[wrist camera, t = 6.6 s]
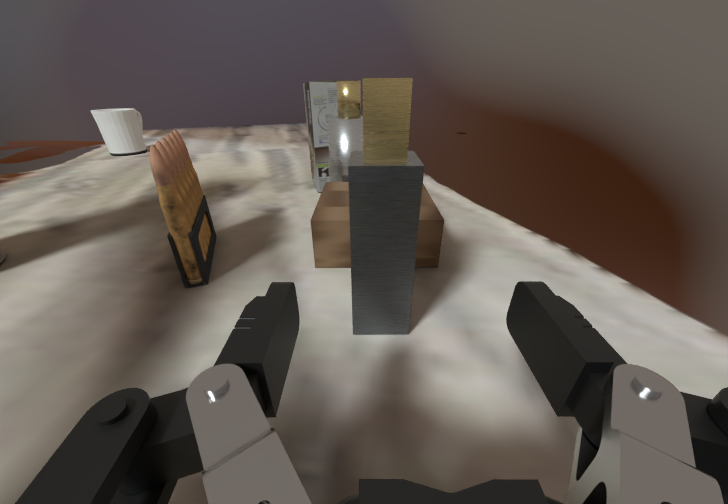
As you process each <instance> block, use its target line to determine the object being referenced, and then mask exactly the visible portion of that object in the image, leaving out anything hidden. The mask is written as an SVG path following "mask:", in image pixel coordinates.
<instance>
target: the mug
mask: <svg viewBox="0 0 728 504" xmlns="http://www.w3.org/2000/svg"><path fill="white" fill-rule="evenodd" d="M91 113H92V115H93V117H94V119H95V121H96V123H97V124H98V127H99V129H100V132H101V134H102V136H103V138H104V141H105V143H106V145H107V148H108V150H109V152H110V154H111V155H113V156H128V155H136V154H141V153H145V152H147V149H146V145H145V142H144V139H143V136H142V117H141V114H140V113H139V112H138V111H136V110H135V109H128V108H127V109H101V110H91ZM136 115H137V116H136Z"/></svg>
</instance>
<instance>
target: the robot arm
mask: <svg viewBox="0 0 728 504" xmlns="http://www.w3.org/2000/svg"><path fill="white" fill-rule="evenodd" d="M5 257H6V254H5V253H4V251H3V250H2V248H1V247H0V263H1V262H2V261H3V260H4V259H5ZM506 321H507V327H508V330H509V332H510V334H511V336H512V338H513V339H514V341H515V343H516V345H517V346H518V348H519V350H520V352H521V353H522V355H523V357H524V359H525V360H526V362H527V364H528V366H529V367H530V369H531V371H532V373H533V374H534V376H535V378H536V380H537V381H538V383H539V385H540V387H541V388H542V390H543V392H544V394H545V395H546V397H547V399H548V401H549V402H550V404H551V406H552V408H553V409H554V411H555V413H556V415H557V416H572V417H575V418H576V420H577V422H578V423H579V425H580V427H579V429H578V431H577V437H576V444H575V450H574V457H573V464H572V470H571V477H570V484H569V489H568V492H567V495H566V498H565V500H564V503H563V504H728V387H727V388H724V389H722V390H721V391H720V392H719V393H718V394H717V395H716V396H715V397H714V398H713V399H708V398H704V397H700V396H696V395H692V394H688V393H683V392H679V390H678V389H677V388H676V387H675V386H674V385H673V384H672V383H670V382H669V381H668V380H667V379H665V378H664V377H662V376H661V375H659V374H657V373H655V372H653V371H651V370H649V369H647V368H644V367H641V366H637V365H632V364H627V363H626V362H625V361H624V359H623V358H622V357H621V356H620V355H619V354H618V353H617V352H616V351H615V350H614V349H613V348H612V347H611V345H610V344H609V343H608V342H607V341H606V340H605V339H604V338H603V337H602V336H601V335H600V334H599V332H598V331H597V330H596V329H595V328H592V325H591V324H590V323H589V322H588V321H587V319H584V316H583V315H582V314H581V313H580V312H579V311H578V310H577V309H576V308H575V307H574V305H572V304H571V303H569V302H568V301H566V300H564V299H563V298H561V297H560V296H556V295H555V294H554V293H553V292H552V291H551V290H550V289H549V287H548V286H547V285H546V284H545V283H544V282H518V283H517V284H516V286H515V289H514V293H513V296H512V299H511V303H510V306H509V309H508V312H507V318H506ZM298 331H299V310H298V303H297V296H296V289H295V285H294V283H293V282H272V283H271V285H270V287H269V289H268V291H267V293H266V295H265V296H256V297H255V298H254V299H253V300H252V301H251V302H250V303H248V304H247V305H246V306H245V308H244V310H243V312H242V314H241V316H240V319H239V320H238V321H237V323H236V325H235V329H233V331H232V333H231V334H230V336H229V338H228V340H227V342H226V344H225V346H224V348H223V349H222V351H221V353H220V355H219V357H218V359H217V361H216V363H215V365H214V366H213V367H211V368H209V369H207V370H205V371H203V372H202V373H201V374H199V375H198V376H197V377H196V378H195V379H194V380H193V381H192V383H191V384H190V386H189V387H188V388H185V389H183V390H180V391H177V392H173V393H169V394H165V395H162V396H158V397H154V398H151V399H150V397H149V396H148V394H147V392H145V391H144V390H142V389H139V388H128V389H123V390H120V391H117V392H115V393H112V394H110V395H108V396H106V397H105V398H103V399H102V400H100V401H99V402H97V403H96V404H95V405H93V406H92V407H91V408H90V409H89V410H88V411H87V412H86V413H85V414H84V416H83V417H82V418H81V419H80V421H79V422H78V423H77V425H76V426H75V427H74V428H73V430H72V431H71V432H70V434H69V435H68V436H67V437H66V439H65V440H64V441H63V443H62V444H61V445H60V446H59V448H58V449H57V450H56V452H55V453H54V454H53V455H52V457H51V458H50V459H49V461H48V462H47V463H46V464H45V466H44V467H43V468H42V470H41V471H40V472H39V473H38V475H37V476H36V477H35V479H34V480H33V481H32V482H31V484H30V485H29V486H28V488H27V489H26V490H25V491H24V493H23V494H22V495H21V497H20V498H19V499H18V500H17V502H16V503H15V504H168V502H169V500H170V497H171V495H172V493H173V490H174V488H175V485H176V483H177V481H178V479H180V478H183V477H186V476H188V475H191V474H194V473H197V472H200V471H203V470H204V472H203V473H202V478H203V484H204V488H205V492H206V496H207V500H208V504H312V503H311V501H310V499H309V497H308V495H307V493H306V491H305V489H304V487H303V485H302V483H301V481H300V479H299V477H298V475H297V473H296V471H295V469H294V467H293V465H292V463H291V461H290V459H289V457H288V455H287V453H286V451H285V449H284V446H283V444H282V442H281V440H280V438H279V436H278V435H277V433H276V431H275V430H274V429H273V428H271V427H270V425H269V423H268V421H267V419H266V417H276V414H277V410H278V406H279V402H280V399H281V395H282V391H283V387H284V384H285V380H286V376H287V372H288V369H289V365H290V361H291V357H292V354H293V350H294V346H295V342H296V339H297V335H298ZM336 504H562V503H561V502H558V501H556V500H554V499H551V498H549V497H546V496H545V495H544V493H543V491H542V489H541V486H540V484H539V482H538V480H491V481H488V482H485V483H482V484H479V485H476V486H473V487H470V488H467V489H464V490H462V491H459V492H455V493H447V492H443V491H440V490H437V489H433V488H430V487H427V486H424V485H420V484H417V483H414V482H410V481H407V480H404V479H359V493H358V494H355V495H352V496H349V497H347V498H345V499H343V500H341V501H339V502H338V503H336Z"/></svg>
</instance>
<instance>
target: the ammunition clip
mask: <svg viewBox="0 0 728 504" xmlns="http://www.w3.org/2000/svg"><path fill="white" fill-rule="evenodd" d="M150 163H151V169H152V173H153V177H154V180H155V183H156V187H157V191H158V194H159V202H160V206H161V209H162V212H163V215H164V218H165V221H166V224H167V226H168V229H169V234H168V240H169V242H170V245H171V248H172V251H173V254H174V257H175V260H176V263H177V266H178V269H179V271H180V274H181V277H182V280H183V283H184V286H185V288H189V287H194V286H200V285H205V284H208V281H209V275H210V270H211V264H212V258H213V252H214V247H215V241H216V233H215V230H214V226H213V223H212V219H211V215H210V212H209V208H208V205H207V201H206V198H205V196H203V194H202V191H201V187H200V184H199V180H198V176H197V174H196V171H195V169H194V168H193V165H192V162H191V159H190V157H189V153H188V150H187V148H186V145H185V143H184V141H183V139H182V137H181V136H180V134H179V133H178V132H177V130H174V131H173V132H170V135H166V138H162V139H161V142H159V141H157V142H156V147H155V146H154V145H151V147H150Z"/></svg>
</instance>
